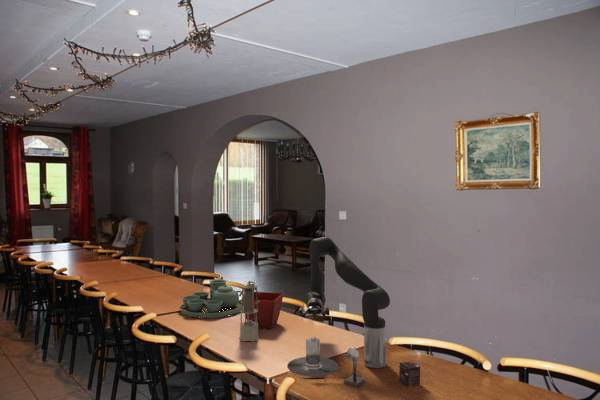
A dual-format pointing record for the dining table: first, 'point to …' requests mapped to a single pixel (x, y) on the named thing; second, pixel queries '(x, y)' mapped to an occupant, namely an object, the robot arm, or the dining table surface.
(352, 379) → the stand
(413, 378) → the box
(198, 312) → the tea set
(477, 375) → the dining table surface
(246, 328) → the lamp
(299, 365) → the turntable
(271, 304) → the plant pot
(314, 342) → the cover
